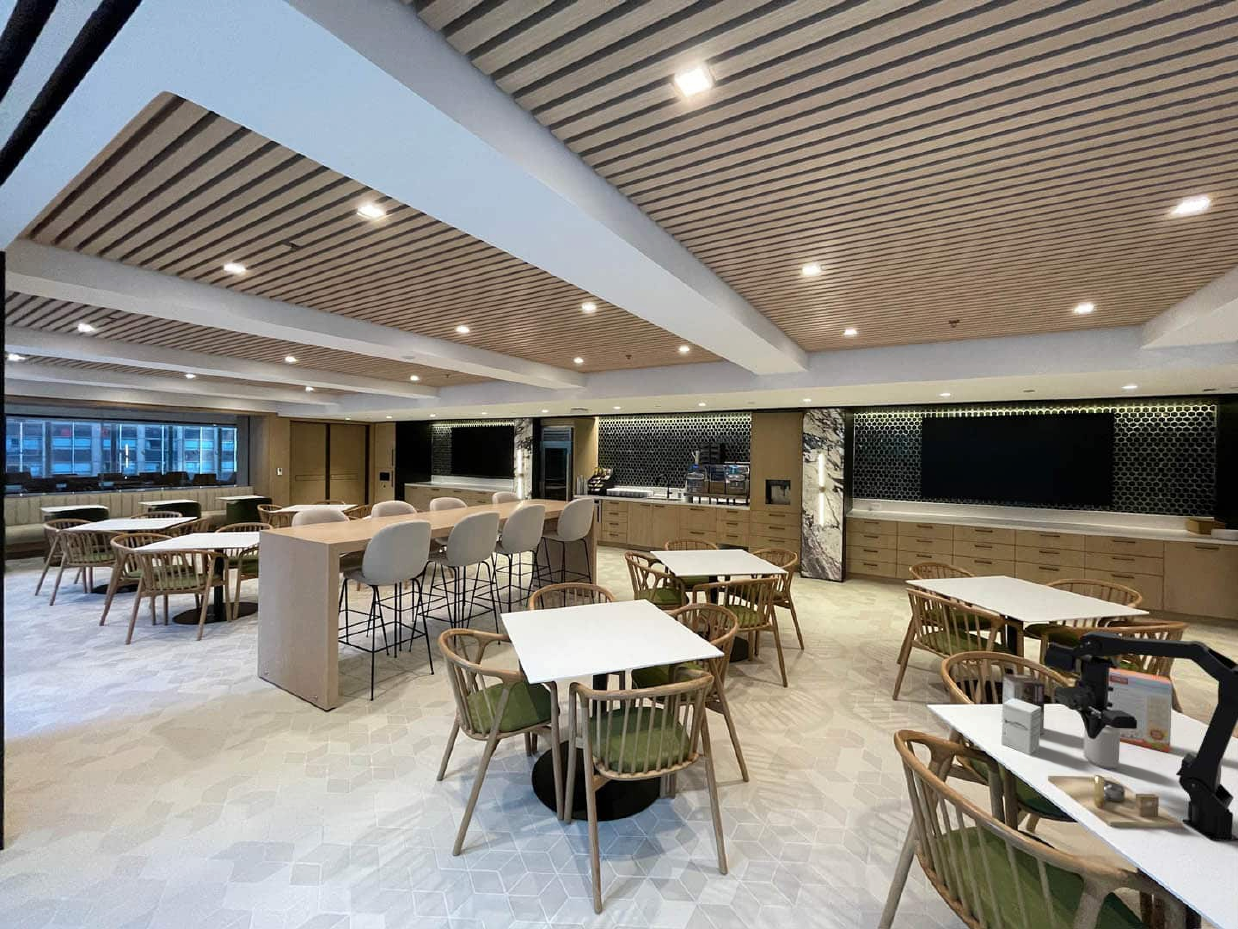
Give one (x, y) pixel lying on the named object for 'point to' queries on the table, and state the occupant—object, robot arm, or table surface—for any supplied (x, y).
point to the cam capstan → (1107, 792)
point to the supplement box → (1021, 725)
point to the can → (1103, 748)
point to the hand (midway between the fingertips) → (1091, 738)
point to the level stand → (1117, 804)
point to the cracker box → (1143, 707)
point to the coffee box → (1024, 692)
